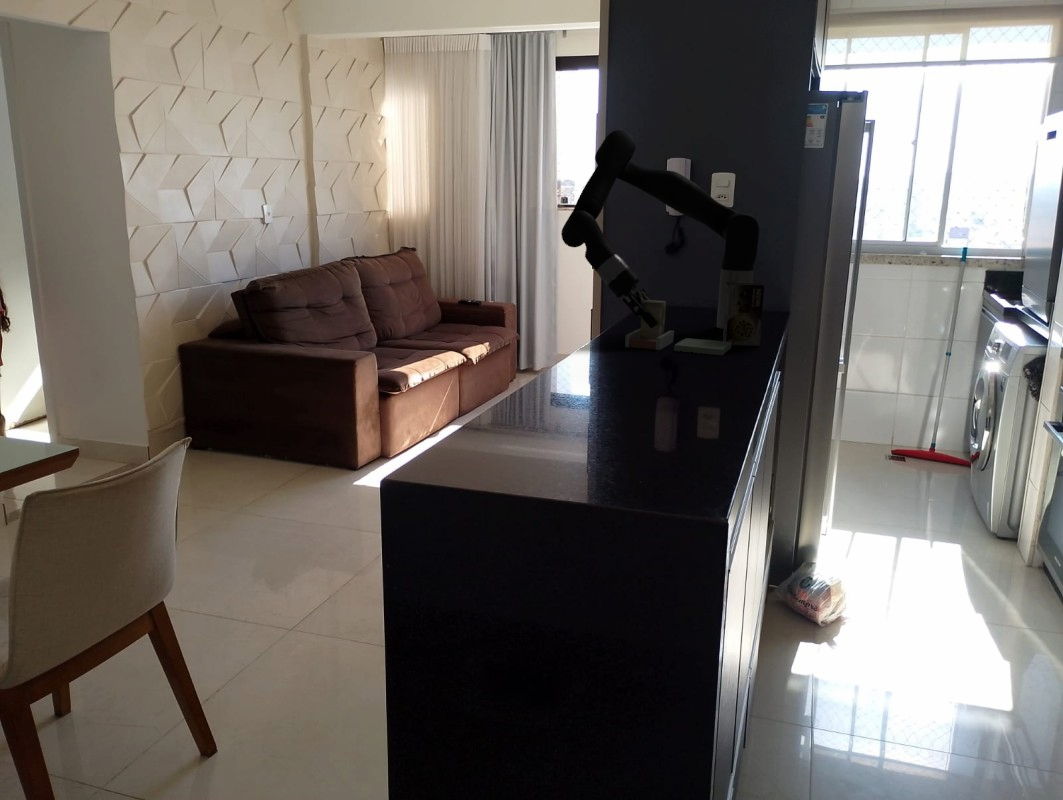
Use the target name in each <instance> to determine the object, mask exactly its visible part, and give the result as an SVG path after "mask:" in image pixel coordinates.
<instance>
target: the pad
mask: <svg viewBox="0 0 1063 800" xmlns="http://www.w3.org/2000/svg"><path fill="white" fill-rule="evenodd" d="M732 346H733V345H732V342H724V341H723V340H722V341H721V340H714V339H713V340H712V339H701V338H700V339H699V338H690V337H685V338H684V339H682V340H680V341H679V342H677V343H676V344H674V347H673V348H674V349H673V351H674V352H680V351H682V352H683V353H691V352H693V353H694V354H701V353H702V354H703V355H714V356H723V355H725V354H726V353H727V352H728V351H729V350H730V349H732ZM682 352H681V353H682ZM693 353H692V354H693Z"/></svg>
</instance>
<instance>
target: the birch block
mask: <svg viewBox="0 0 1063 800" xmlns="http://www.w3.org/2000/svg"><path fill="white" fill-rule="evenodd" d="M645 303H646V308H647V310H648V312H650V314H651V315H652V316H653V317H654V318H655V320H656V321H657V322H658V323H657V325H655V326H654V327H653V328H650V327H649V325H648V324H647V323H646V322H645V321H644V319H643V318H640V328H641V331H640V338H644V339H655V340H656V338H657V337H659V336H661V335H663V334H665V325H666V324H665V323H666V310H667V309H666V307H667V301H666V300H655V299H653V300H646V301H645ZM648 312H647V313H648Z"/></svg>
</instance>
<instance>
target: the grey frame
mask: <svg viewBox="0 0 1063 800" xmlns="http://www.w3.org/2000/svg"><path fill="white" fill-rule="evenodd" d="M640 331H641V327H640V328H638V329H636V330H634V331H632V332H629V333H628V334H625V337H624V338H625V341H624V342H625V343H624V344H625V345H624V348H634V349H635V348H636V349H637V348H638V349H645V350H647V349H648V350H656V351H661V350H662V349H664V348H665V347H668V346H669V345H671V344H673V343H674V336H675V335H674V334H675V330H671V329H670V330H668V331H666V332H664V334H663V335H661V336H659V337H657V338H656V340H655V339H644V338H640ZM660 349H661V350H660Z"/></svg>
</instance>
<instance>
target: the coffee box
mask: <svg viewBox="0 0 1063 800" xmlns="http://www.w3.org/2000/svg"><path fill="white" fill-rule="evenodd" d="M764 293H765V284H763V283H762V282H760V281H759V282H755V281H754V282H753V281H752V282H727V289H726V303H725V317H724V329H723V334H722V341H724V342H732V346H749V347H750V346H751V347H759V346H761V336H762V334H761V333H762V324H763V323H762V321H763V320H762V319H763V311H764V310H763V307H764V297H765V296H764V295H765V294H764Z"/></svg>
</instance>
